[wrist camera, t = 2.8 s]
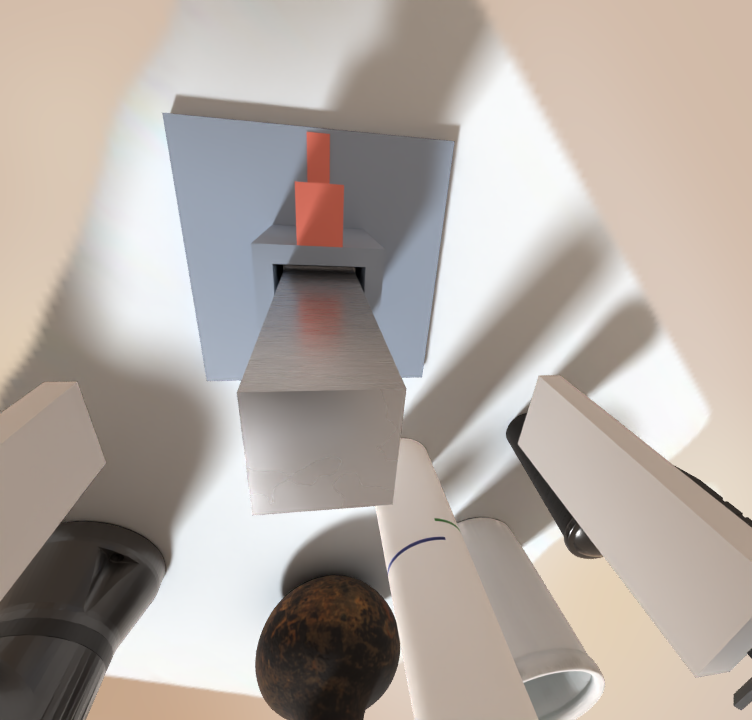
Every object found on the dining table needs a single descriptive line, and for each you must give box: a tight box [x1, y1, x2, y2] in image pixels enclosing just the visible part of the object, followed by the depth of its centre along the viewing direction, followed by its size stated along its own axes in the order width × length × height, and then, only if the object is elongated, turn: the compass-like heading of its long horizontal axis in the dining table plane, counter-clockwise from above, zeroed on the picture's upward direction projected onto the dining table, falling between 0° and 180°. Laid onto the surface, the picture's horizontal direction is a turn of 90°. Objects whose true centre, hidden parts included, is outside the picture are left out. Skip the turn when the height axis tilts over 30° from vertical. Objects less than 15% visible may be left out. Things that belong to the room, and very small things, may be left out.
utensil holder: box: [457, 518, 605, 720], centre depth 43 cm, size 15×15×18 cm
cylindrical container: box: [375, 438, 539, 720], centre depth 30 cm, size 7×7×25 cm
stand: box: [163, 113, 455, 381], centre depth 25 cm, size 20×20×11 cm
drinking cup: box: [506, 413, 603, 559], centre depth 33 cm, size 8×8×20 cm
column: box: [237, 264, 406, 515], centre depth 19 cm, size 4×4×22 cm
